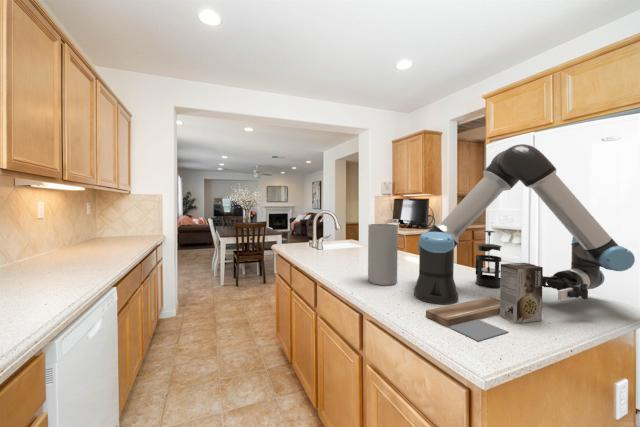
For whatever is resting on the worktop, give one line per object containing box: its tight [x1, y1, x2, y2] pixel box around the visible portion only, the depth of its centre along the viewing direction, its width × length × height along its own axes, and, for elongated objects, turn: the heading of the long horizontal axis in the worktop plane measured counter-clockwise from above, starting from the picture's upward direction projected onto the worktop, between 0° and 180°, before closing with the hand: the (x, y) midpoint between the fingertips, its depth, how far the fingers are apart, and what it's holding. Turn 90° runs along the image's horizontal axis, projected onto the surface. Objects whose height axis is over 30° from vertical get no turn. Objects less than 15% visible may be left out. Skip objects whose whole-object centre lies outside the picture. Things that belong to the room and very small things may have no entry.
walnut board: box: [425, 296, 500, 328], centre depth 90 cm, size 8×30×2 cm, turn 115°
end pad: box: [447, 319, 509, 342], centre depth 78 cm, size 9×12×1 cm
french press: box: [475, 230, 503, 289], centre depth 122 cm, size 12×9×23 cm
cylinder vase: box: [367, 223, 399, 286], centre depth 126 cm, size 12×12×25 cm
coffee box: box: [499, 262, 544, 324], centre depth 86 cm, size 9×6×16 cm
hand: (533, 289), depth 90 cm, fingers open, 13 cm apart
